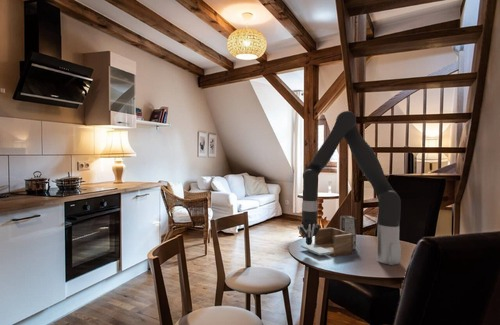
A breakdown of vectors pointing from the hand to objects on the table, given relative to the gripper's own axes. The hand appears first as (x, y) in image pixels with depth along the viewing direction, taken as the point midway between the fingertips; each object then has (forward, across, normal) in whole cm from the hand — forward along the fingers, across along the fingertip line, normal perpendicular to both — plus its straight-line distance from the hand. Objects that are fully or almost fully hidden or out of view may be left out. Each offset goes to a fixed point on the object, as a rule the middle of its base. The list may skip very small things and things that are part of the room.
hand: (308, 244), depth 156 cm
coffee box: (+5, +28, +3) cm, 29 cm away
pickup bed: (+5, +15, 0) cm, 16 cm away
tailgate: (+3, +8, 0) cm, 9 cm away
